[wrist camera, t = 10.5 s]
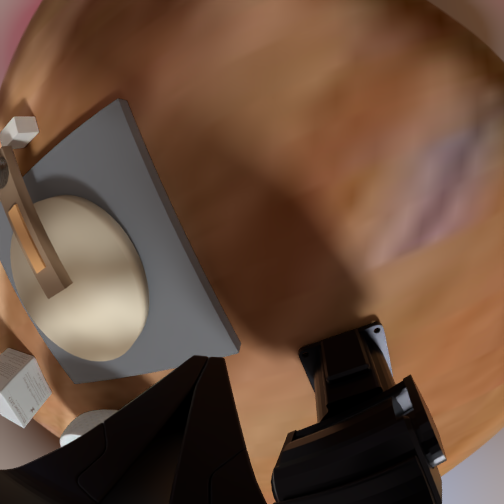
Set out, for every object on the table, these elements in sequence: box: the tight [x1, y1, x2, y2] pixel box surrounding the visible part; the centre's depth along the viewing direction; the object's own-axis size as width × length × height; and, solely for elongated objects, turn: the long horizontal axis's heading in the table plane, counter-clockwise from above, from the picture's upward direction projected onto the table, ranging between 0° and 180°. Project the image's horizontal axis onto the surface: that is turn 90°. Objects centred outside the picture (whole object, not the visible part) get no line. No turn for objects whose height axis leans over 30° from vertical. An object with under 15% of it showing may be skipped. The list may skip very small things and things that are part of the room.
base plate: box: [0, 99, 241, 384], centre depth 19 cm, size 23×19×2 cm
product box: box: [0, 348, 52, 428], centre depth 24 cm, size 6×6×7 cm
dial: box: [0, 146, 149, 361], centre depth 16 cm, size 18×13×8 cm
